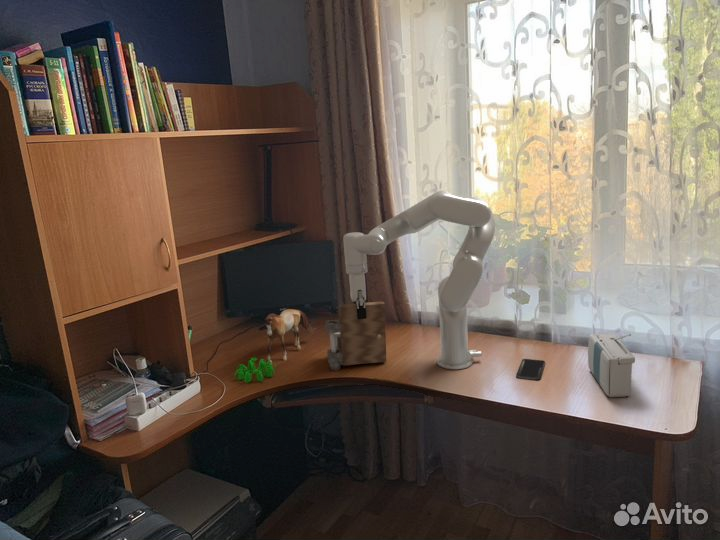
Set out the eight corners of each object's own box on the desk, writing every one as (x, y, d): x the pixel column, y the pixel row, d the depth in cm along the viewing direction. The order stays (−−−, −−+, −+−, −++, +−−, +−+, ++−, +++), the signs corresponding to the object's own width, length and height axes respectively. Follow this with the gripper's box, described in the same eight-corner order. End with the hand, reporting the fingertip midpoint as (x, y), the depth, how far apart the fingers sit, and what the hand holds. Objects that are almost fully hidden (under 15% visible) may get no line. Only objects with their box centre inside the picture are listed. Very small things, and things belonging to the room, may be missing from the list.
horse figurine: (274, 371, 210) (268, 318, 205) (257, 369, 214) (250, 316, 209) (318, 341, 237) (313, 293, 232) (302, 339, 240) (297, 292, 235)
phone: (515, 376, 190) (522, 358, 203) (515, 379, 191) (522, 361, 204) (540, 378, 187) (546, 360, 200) (540, 381, 187) (545, 363, 200)
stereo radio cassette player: (586, 370, 192) (588, 313, 187) (612, 369, 191) (614, 312, 186) (605, 399, 172) (607, 337, 167) (634, 399, 171) (637, 336, 166)
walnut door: (384, 357, 213) (382, 300, 208) (386, 362, 208) (384, 304, 203) (328, 362, 211) (324, 304, 206) (328, 367, 206) (325, 309, 201)
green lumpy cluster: (230, 374, 211) (227, 357, 210) (269, 364, 218) (267, 347, 216) (241, 389, 198) (239, 370, 197) (282, 378, 205) (280, 360, 203)
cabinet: (376, 351, 221) (373, 309, 217) (381, 365, 209) (377, 320, 205) (328, 357, 220) (324, 315, 215) (330, 370, 207) (326, 326, 203)
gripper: (343, 263, 209) (347, 308, 213) (348, 275, 192) (352, 323, 197) (364, 261, 210) (368, 306, 214) (370, 272, 193) (374, 321, 197)
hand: (360, 314), depth 205 cm, fingers open, 9 cm apart
